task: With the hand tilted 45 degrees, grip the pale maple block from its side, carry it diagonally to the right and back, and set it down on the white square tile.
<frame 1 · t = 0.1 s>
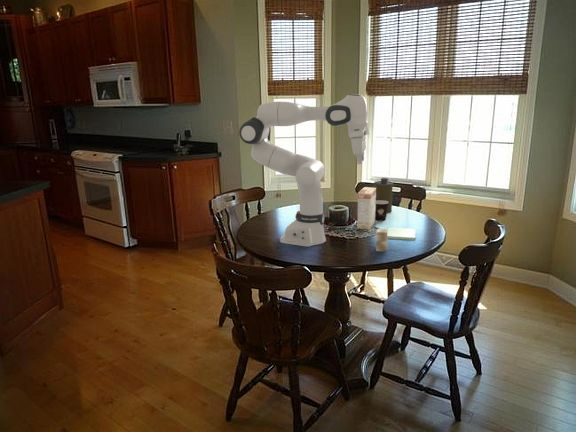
hand: (360, 162, 190), 39 cm above the table, tool pointing down, fingers open, 8 cm apart
coffeecake box: (366, 225, 228), on the table
maple block: (381, 249, 193), on the table
coffee mug: (377, 219, 239), on the table
white square tile: (400, 234, 212), on the table
canister: (382, 211, 255), on the table
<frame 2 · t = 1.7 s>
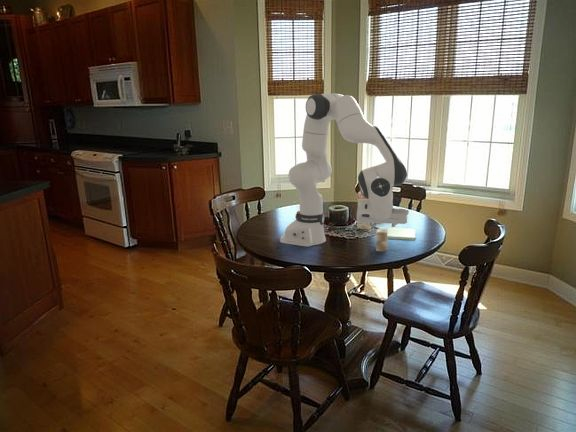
hand: (381, 225, 177), 15 cm above the table, tool tilted 45°, fingers open, 8 cm apart
nothing on the table moved.
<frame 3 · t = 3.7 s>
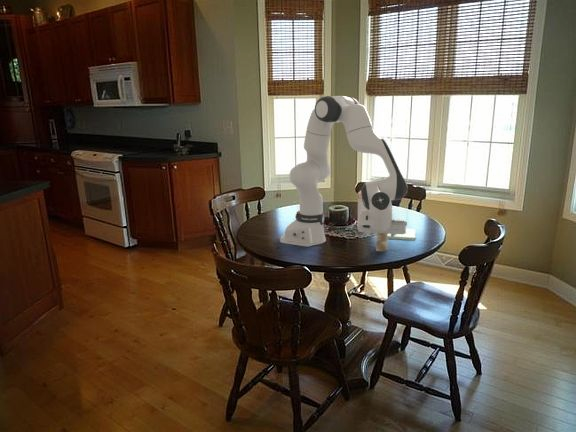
hand: (381, 234, 187), 8 cm above the table, tool tilted 45°, fingers open, 8 cm apart
nothing on the table moved.
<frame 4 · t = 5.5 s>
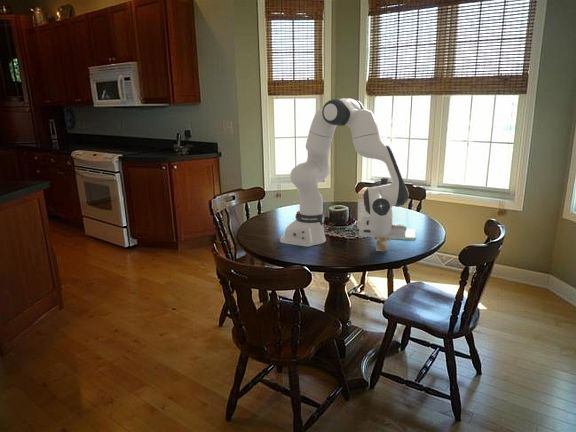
hand: (382, 238, 192), 5 cm above the table, tool tilted 45°, fingers closed on maple block, 4 cm apart
maple block: (381, 249, 193), on the table, touching gripper
everything else where it was.
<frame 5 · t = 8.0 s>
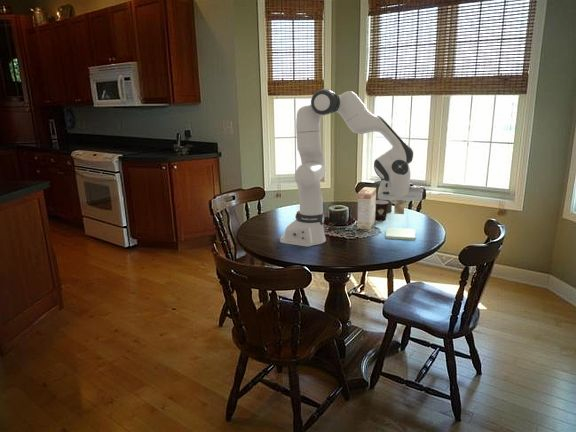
hand: (399, 202, 203), 18 cm above the table, tool tilted 45°, fingers closed on maple block, 4 cm apart
maple block: (399, 212, 204), point 13 cm above the table, touching gripper
everything else where it was.
when the fingers open (8 cm above the table, at t = 10.6 s): maple block drops 1 cm, resting on white square tile.
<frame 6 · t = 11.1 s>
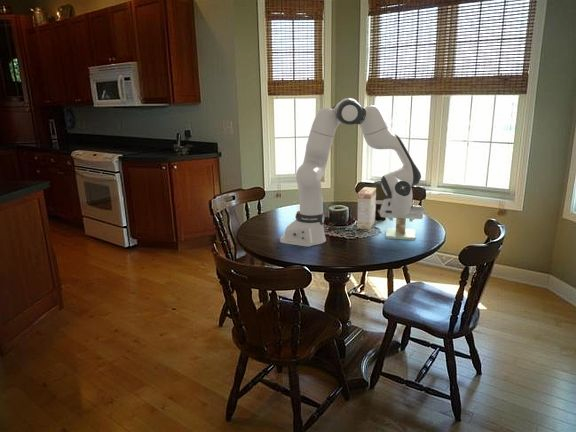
hand: (401, 219, 210), 8 cm above the table, tool tilted 45°, fingers open, 8 cm apart
maple block: (400, 232, 211), point 1 cm above the table, touching white square tile
everything else where it was.
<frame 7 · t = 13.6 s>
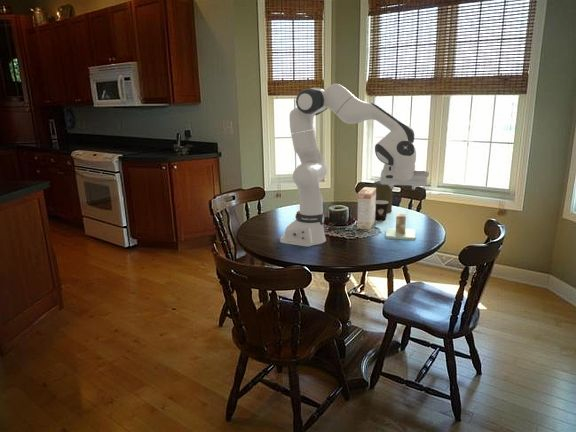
hand: (402, 187, 193), 27 cm above the table, tool tilted 45°, fingers open, 8 cm apart
nothing on the table moved.
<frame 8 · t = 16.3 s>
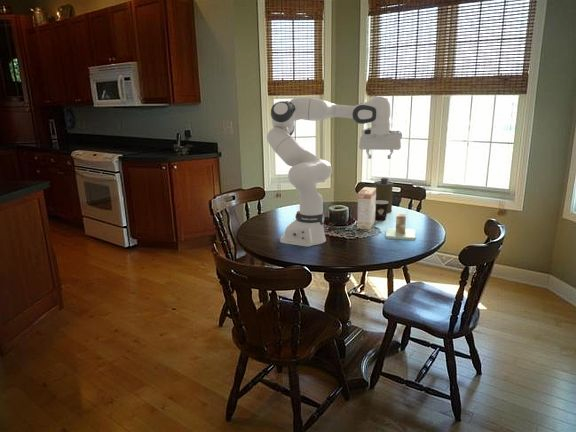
hand: (379, 158, 211), 37 cm above the table, tool pointing down, fingers open, 8 cm apart
nothing on the table moved.
at the end: maple block inside the target area on the white square tile (0.1 cm from its centre), point 1.2 cm above the white square tile's base; maple block tilted 0°; the gripper is holding nothing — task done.
